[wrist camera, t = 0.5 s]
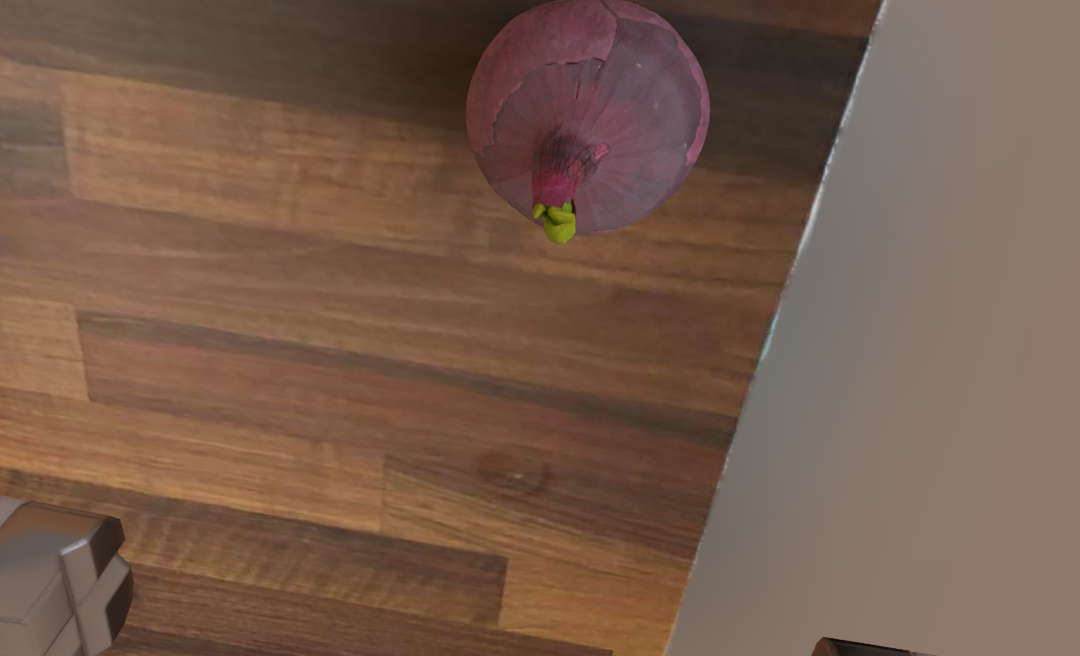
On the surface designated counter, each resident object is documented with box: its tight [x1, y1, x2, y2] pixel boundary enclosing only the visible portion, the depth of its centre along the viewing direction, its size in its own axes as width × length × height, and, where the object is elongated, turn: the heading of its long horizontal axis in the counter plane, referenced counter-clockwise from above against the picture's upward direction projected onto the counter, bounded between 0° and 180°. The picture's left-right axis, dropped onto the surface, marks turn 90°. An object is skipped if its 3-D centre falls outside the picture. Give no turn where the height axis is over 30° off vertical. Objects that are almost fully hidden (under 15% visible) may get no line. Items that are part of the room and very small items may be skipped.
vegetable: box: [466, 0, 710, 244], centre depth 23 cm, size 6×6×10 cm
